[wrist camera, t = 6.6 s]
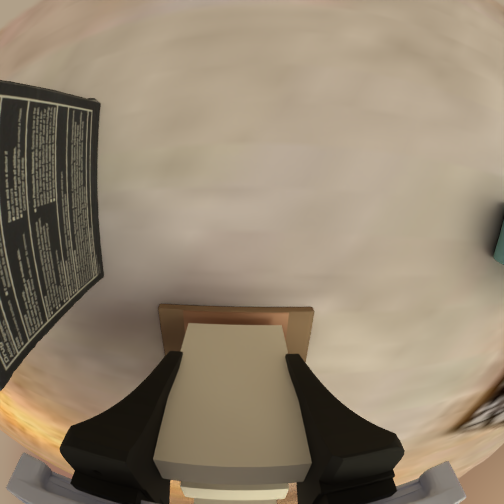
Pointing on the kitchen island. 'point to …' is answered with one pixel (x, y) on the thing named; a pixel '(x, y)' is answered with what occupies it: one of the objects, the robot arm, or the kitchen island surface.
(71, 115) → the small box
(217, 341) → the domino
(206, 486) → the domino
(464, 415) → the kitchen island surface
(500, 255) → the data package
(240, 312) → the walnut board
